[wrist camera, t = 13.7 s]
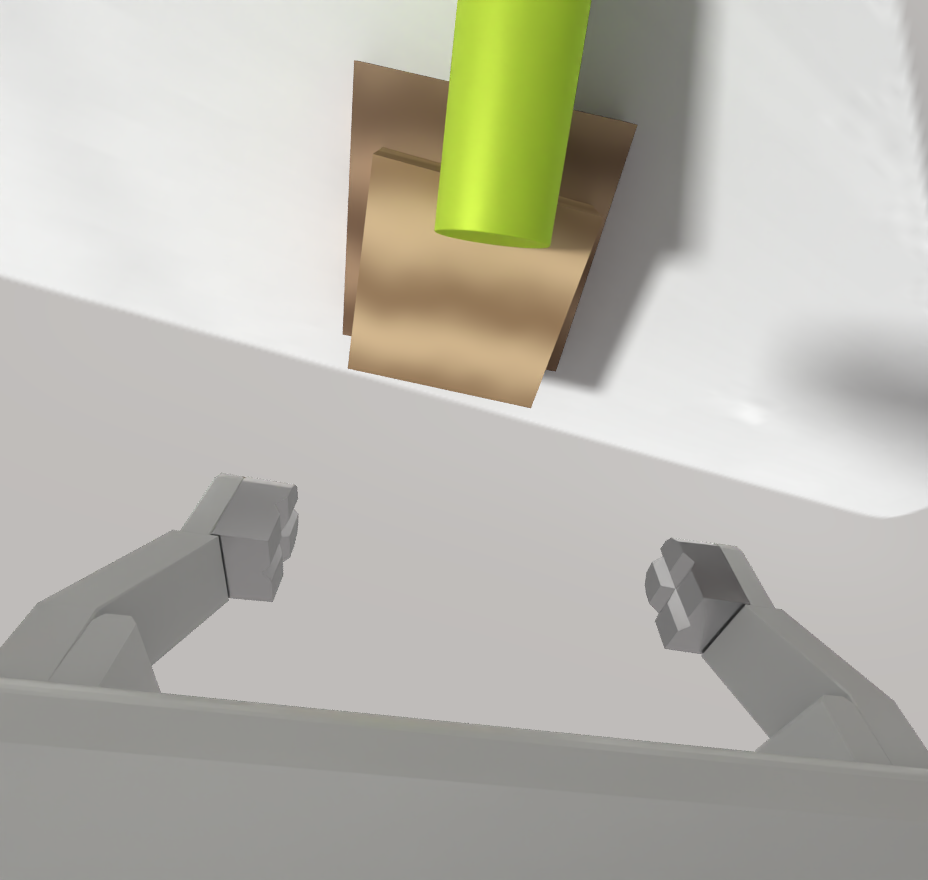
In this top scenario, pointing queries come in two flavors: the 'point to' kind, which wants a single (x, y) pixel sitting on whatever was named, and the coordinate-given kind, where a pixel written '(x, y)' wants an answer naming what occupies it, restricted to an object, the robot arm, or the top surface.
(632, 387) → the top surface
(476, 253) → the oak top slab
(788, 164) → the top surface
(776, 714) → the robot arm
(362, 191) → the walnut base slab
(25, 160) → the top surface
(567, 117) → the soap dispenser
